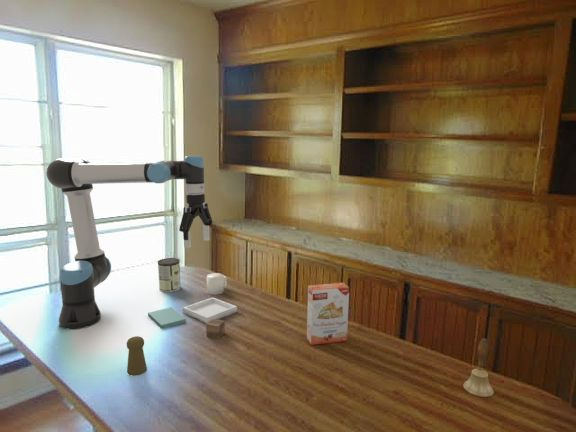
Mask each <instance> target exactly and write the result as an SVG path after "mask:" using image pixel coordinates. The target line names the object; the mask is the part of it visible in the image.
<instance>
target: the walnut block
mask: <svg viewBox="0 0 576 432" xmlns="http://www.w3.org/2000/svg"><path fill="white" fill-rule="evenodd" d="M205 328H206V337H207V338H213V339H220V338H221V337H222V336H224V335H225V333H226V321H225V320H222V319H218V320H217V319H212V320H211V321H210V322H208V323H205Z"/></svg>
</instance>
